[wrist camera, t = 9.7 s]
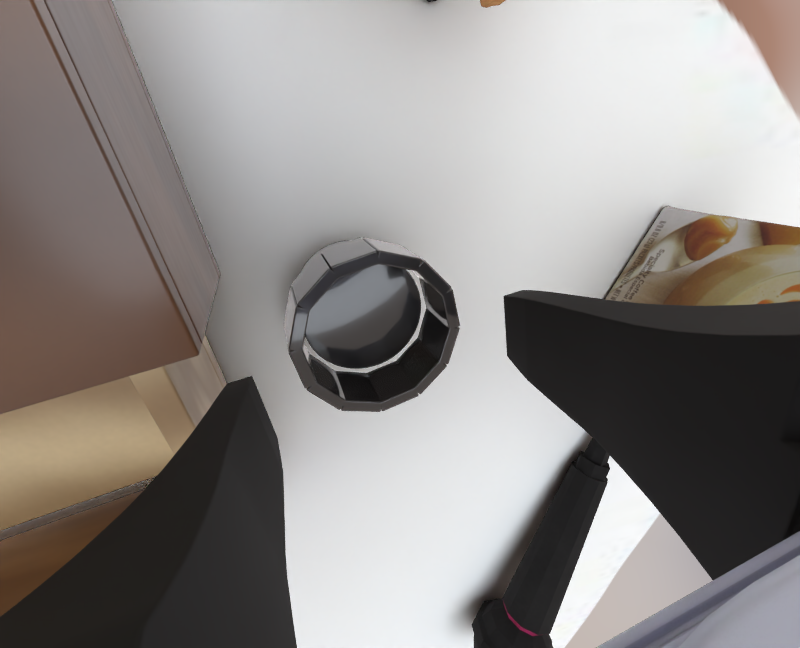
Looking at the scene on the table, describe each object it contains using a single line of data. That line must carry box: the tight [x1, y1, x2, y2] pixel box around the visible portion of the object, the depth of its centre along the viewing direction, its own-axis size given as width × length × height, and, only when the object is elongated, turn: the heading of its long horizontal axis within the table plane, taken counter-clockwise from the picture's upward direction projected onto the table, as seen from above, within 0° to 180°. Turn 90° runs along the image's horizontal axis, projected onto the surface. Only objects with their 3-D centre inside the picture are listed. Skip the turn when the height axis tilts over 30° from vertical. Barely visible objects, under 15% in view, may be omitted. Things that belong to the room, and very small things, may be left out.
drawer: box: [0, 335, 227, 617], centre depth 12 cm, size 12×13×5 cm
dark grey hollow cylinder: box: [284, 237, 460, 412], centre depth 14 cm, size 5×5×5 cm
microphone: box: [472, 438, 610, 648], centre depth 26 cm, size 6×6×20 cm
